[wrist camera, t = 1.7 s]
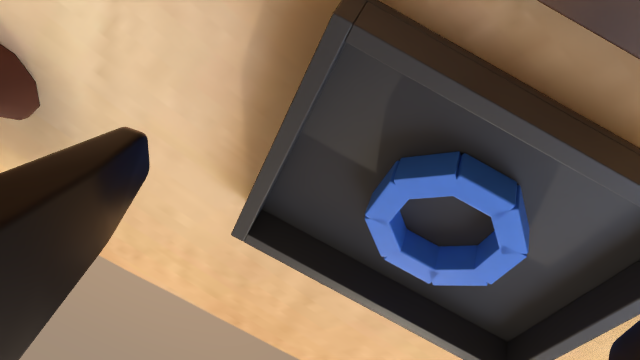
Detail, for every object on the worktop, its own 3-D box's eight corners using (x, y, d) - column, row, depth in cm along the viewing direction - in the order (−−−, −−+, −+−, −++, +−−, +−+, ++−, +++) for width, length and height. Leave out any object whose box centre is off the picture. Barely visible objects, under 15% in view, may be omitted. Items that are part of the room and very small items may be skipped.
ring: (560, 205, 23) (561, 231, 22) (469, 280, 28) (465, 304, 27) (420, 127, 23) (414, 149, 21) (353, 217, 27) (345, 239, 26)
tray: (741, 205, 21) (759, 252, 19) (511, 346, 31) (508, 384, 29) (352, -15, 20) (333, 12, 18) (249, 204, 30) (230, 235, 29)
